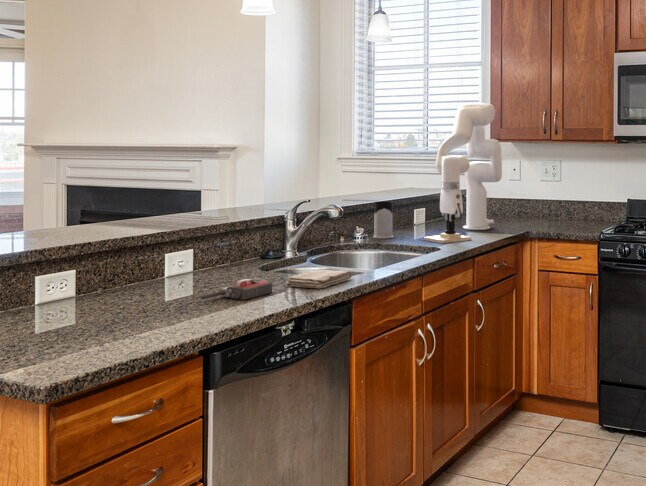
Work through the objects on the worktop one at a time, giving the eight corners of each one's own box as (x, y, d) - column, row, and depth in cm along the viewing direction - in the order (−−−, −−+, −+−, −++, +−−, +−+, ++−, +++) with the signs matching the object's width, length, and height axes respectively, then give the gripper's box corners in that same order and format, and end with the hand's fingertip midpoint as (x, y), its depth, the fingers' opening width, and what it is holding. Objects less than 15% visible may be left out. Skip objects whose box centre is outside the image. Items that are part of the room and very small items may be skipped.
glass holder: (373, 238, 315) (373, 203, 315) (371, 234, 329) (371, 200, 329) (394, 238, 317) (394, 203, 317) (391, 234, 331) (391, 200, 331)
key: (451, 234, 312) (451, 229, 312) (455, 234, 309) (455, 230, 309) (445, 234, 310) (445, 230, 310) (450, 235, 307) (450, 231, 307)
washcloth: (284, 286, 212) (284, 276, 212) (319, 276, 228) (319, 266, 228) (319, 290, 207) (319, 279, 207) (352, 279, 223) (352, 269, 223)
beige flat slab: (452, 237, 321) (452, 230, 321) (471, 240, 312) (471, 232, 312) (423, 240, 311) (423, 233, 311) (441, 243, 302) (441, 236, 302)
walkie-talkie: (252, 288, 209) (198, 302, 191) (252, 273, 209) (198, 285, 191) (277, 292, 205) (223, 306, 187) (277, 276, 204) (223, 288, 187)
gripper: (469, 187, 306) (469, 231, 306) (446, 185, 318) (446, 228, 318) (455, 187, 301) (455, 233, 302) (432, 185, 313) (432, 229, 313)
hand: (450, 230), depth 310 cm, fingers closed
